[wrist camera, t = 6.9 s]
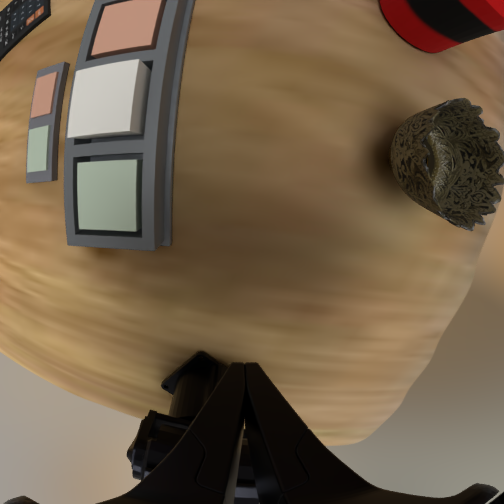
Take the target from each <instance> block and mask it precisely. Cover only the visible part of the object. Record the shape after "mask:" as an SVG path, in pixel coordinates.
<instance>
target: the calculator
mask: <svg viewBox="0 0 504 504" xmlns="http://www.w3.org/2000/svg"><path fill="white" fill-rule="evenodd" d="M49 16H51V8H50V0H13V1H12V2H10V3H9V4H8V5H7V6H6V7H5V8H4V9H3V10H2V11H0V61H1V60H2V59H3V58H4V56H5V55H6V54H7V53H8V52H9V51H10V50H11V49H12V48H13V47H15V46H16V45H17V44H18V43H19V42H20V41H21V40H22V39H23V38H24V37H25V36H26V35H28V34H29V33H30V32H31V31H32V30H33V29H34V28H36V27H37V26H38V25H39V24H41V23H42V22H43V21H44V20H46V19H47V18H48V17H49Z"/></svg>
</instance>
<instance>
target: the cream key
mask: <svg viewBox="0 0 504 504" xmlns="http://www.w3.org/2000/svg"><path fill="white" fill-rule="evenodd" d="M150 77H151V70H150V69H149V68H148V67H147V66H146V65H145V64H144V63H143V62H142V61H141V60H140V59H135V60H128V61H122V62H116V63H110V64H105V65H100V66H95V67H91V68H87V69H82V70H78V71H76V75H75V81H74V86H73V92H72V99H71V106H70V114H69V123H68V134H67V138H77V139H93V138H103V137H114V136H128V135H144V128H145V117H146V107H147V99H148V91H149V84H150Z"/></svg>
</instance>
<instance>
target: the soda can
mask: <svg viewBox="0 0 504 504" xmlns="http://www.w3.org/2000/svg"><path fill="white" fill-rule="evenodd" d="M380 4H381V8H382V11H383V13H384V15H385V17H386V19H387V20H388V22H389V23H390V25H391V26H392V27H393V28H394V30H395V31H396V32H397V33H398V34H399V35H400V36H401V37H403V38H404V39H405V40H406V41H408V42H409V43H411V44H412V45H414V46H416V47H418V48H420V49H421V50H424V51H427V52H432V53H437V52H441V51H443V50H446V49H448V48H451V47H453V46H456V45H459V44H461V43H464V42H467V41H470V40H473V39H475V38H478V37H481V36H484V35H488V34H491V33H494V32H497V31H501V30H504V0H380Z"/></svg>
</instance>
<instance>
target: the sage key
mask: <svg viewBox="0 0 504 504" xmlns="http://www.w3.org/2000/svg"><path fill="white" fill-rule="evenodd" d="M142 167H143V160H112V161H96V162H83V163H78V167H77V196H78V219H79V229H91V230H115V231H138V230H139V229H140V228H142Z"/></svg>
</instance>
